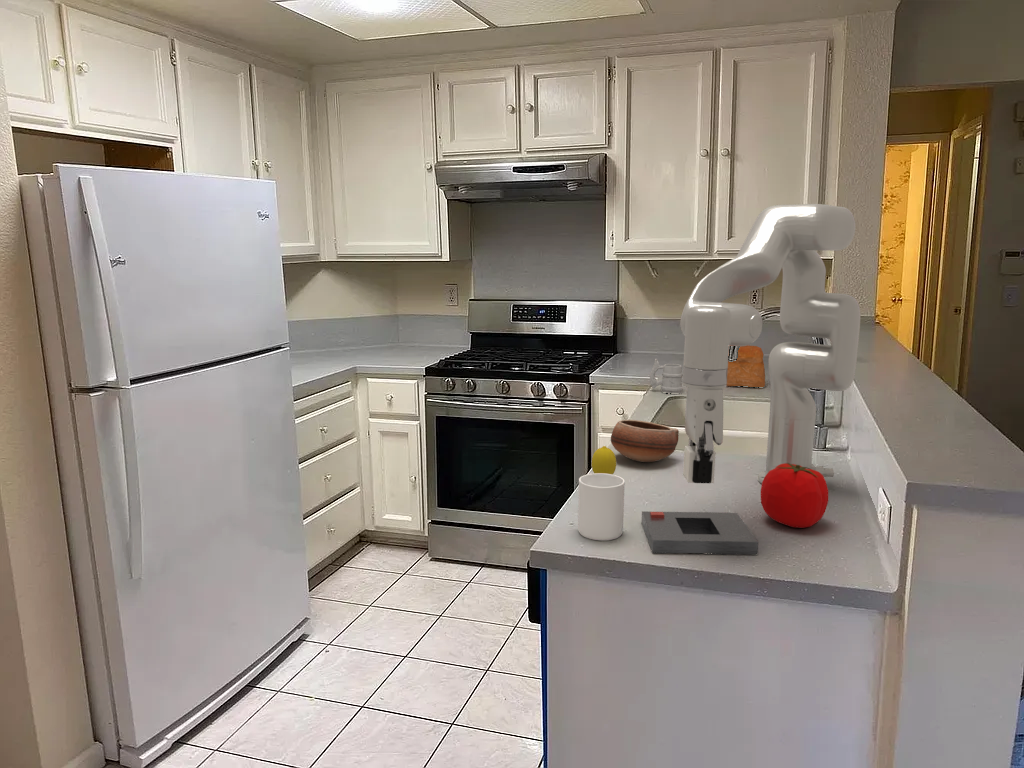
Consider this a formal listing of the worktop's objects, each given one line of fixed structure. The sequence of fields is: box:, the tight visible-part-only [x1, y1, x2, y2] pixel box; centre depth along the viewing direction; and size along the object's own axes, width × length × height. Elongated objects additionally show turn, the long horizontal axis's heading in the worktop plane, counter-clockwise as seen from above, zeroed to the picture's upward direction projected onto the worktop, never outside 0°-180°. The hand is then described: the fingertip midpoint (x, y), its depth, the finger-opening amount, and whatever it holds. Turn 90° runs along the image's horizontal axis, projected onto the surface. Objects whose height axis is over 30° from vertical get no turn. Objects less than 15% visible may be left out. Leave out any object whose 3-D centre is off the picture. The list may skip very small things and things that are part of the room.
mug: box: [649, 358, 684, 394], centre depth 267 cm, size 8×12×12 cm, turn 78°
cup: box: [577, 472, 626, 541], centre depth 140 cm, size 8×12×10 cm
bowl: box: [610, 419, 680, 463], centre depth 184 cm, size 16×16×10 cm
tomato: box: [760, 462, 829, 529], centre depth 144 cm, size 12×13×12 cm
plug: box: [682, 440, 716, 484], centre depth 133 cm, size 4×4×8 cm
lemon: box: [591, 445, 617, 475], centre depth 169 cm, size 6×6×8 cm
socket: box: [641, 511, 759, 555], centre depth 136 cm, size 18×14×3 cm
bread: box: [726, 345, 766, 388], centre depth 283 cm, size 14×27×15 cm, turn 72°
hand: (698, 477), depth 134 cm, fingers closed on plug, 4 cm apart
